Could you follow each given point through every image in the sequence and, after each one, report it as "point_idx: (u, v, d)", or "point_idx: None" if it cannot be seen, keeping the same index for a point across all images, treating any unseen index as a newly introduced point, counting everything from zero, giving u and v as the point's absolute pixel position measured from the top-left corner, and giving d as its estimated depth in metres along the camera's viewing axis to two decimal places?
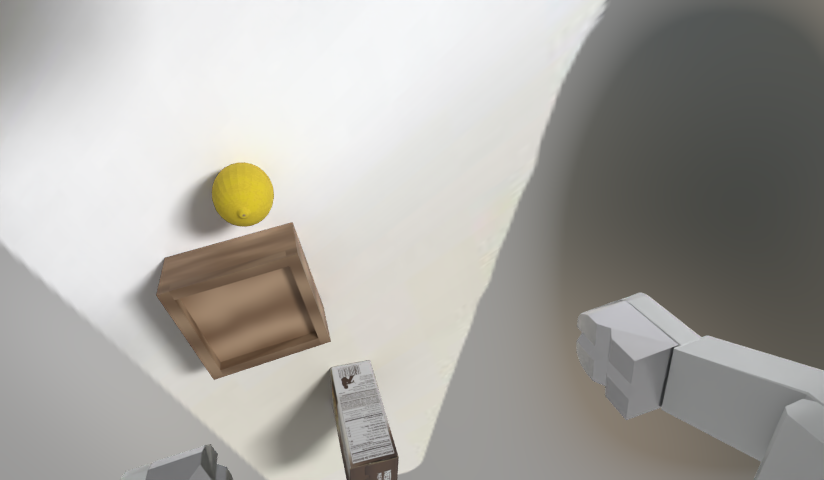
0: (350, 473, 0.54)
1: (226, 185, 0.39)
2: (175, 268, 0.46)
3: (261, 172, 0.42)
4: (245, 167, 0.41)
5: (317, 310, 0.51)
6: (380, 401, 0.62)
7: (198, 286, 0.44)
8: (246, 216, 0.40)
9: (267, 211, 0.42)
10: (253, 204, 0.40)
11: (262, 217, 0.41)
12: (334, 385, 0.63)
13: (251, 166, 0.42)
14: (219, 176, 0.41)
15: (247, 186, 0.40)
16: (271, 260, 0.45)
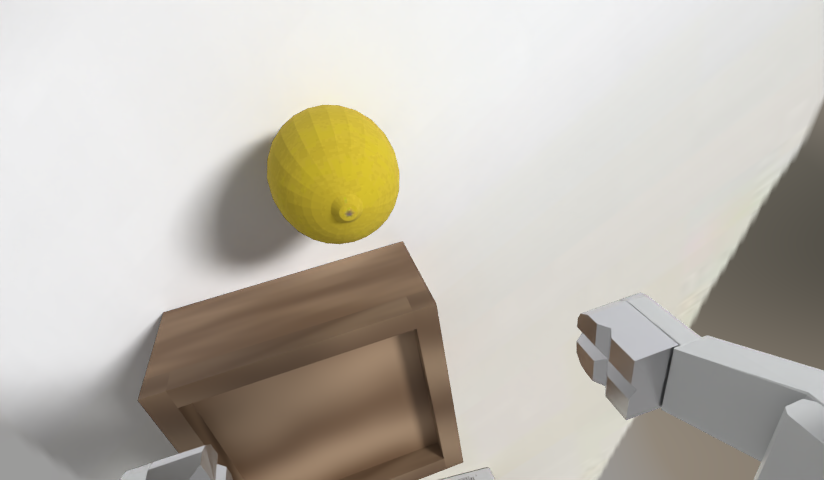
0: None
1: (307, 142, 0.16)
2: (182, 334, 0.23)
3: (375, 124, 0.19)
4: (343, 108, 0.18)
5: (451, 410, 0.26)
6: None
7: (229, 377, 0.20)
8: (355, 215, 0.16)
9: (391, 208, 0.18)
10: (370, 188, 0.16)
11: (381, 222, 0.18)
12: None
13: (355, 111, 0.19)
14: (287, 128, 0.18)
15: (357, 144, 0.16)
16: (381, 316, 0.21)
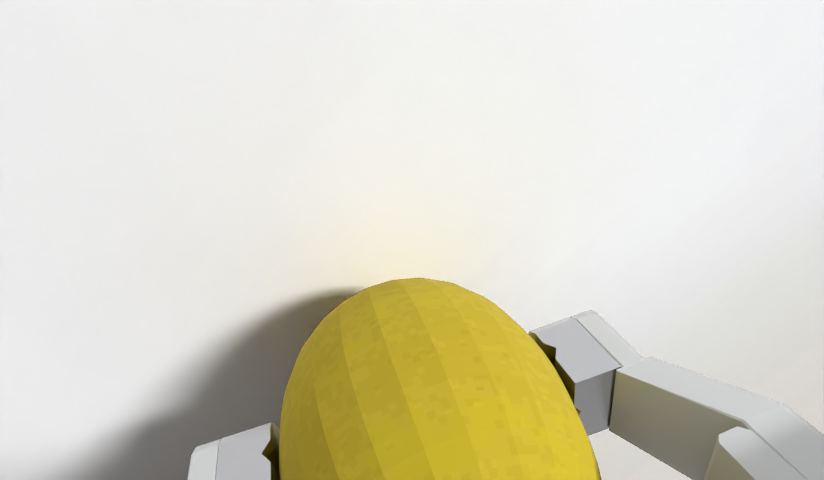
0: None
1: None
2: None
3: (523, 332, 0.08)
4: (463, 317, 0.08)
5: None
6: None
7: None
8: None
9: None
10: None
11: None
12: None
13: (483, 309, 0.08)
14: (331, 384, 0.07)
15: (540, 477, 0.06)
16: None
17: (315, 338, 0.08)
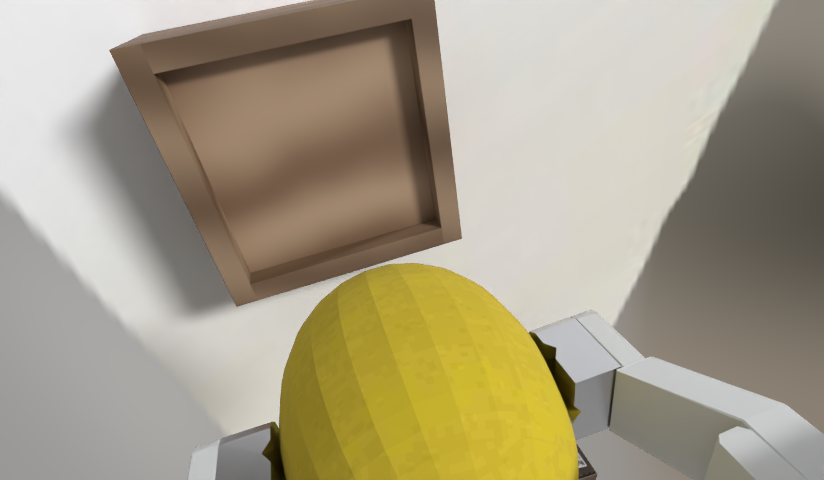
0: None
1: (389, 434, 0.06)
2: (161, 33, 0.21)
3: (508, 311, 0.09)
4: (451, 294, 0.08)
5: (449, 156, 0.25)
6: None
7: (210, 41, 0.19)
8: None
9: None
10: None
11: None
12: None
13: (470, 288, 0.09)
14: (329, 352, 0.08)
15: (516, 432, 0.06)
16: None
17: (314, 315, 0.09)
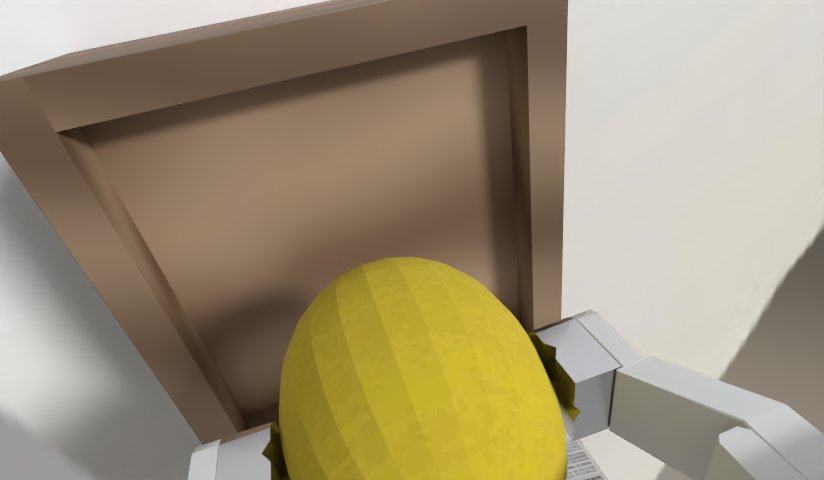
0: None
1: (384, 415, 0.07)
2: (89, 53, 0.12)
3: (500, 303, 0.09)
4: (445, 285, 0.08)
5: (558, 241, 0.16)
6: None
7: (163, 69, 0.10)
8: None
9: None
10: None
11: None
12: None
13: (464, 281, 0.09)
14: (327, 340, 0.08)
15: (506, 414, 0.07)
16: None
17: (313, 306, 0.09)
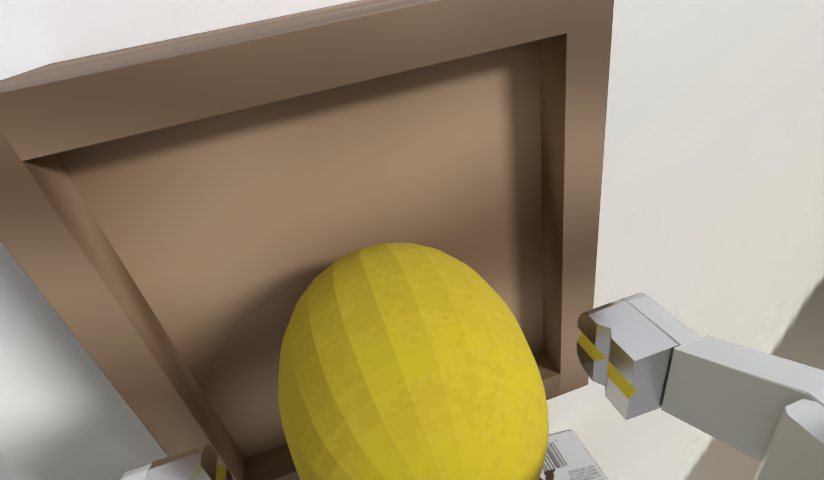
0: None
1: (376, 384, 0.07)
2: (68, 65, 0.11)
3: (489, 286, 0.10)
4: (436, 268, 0.09)
5: (591, 269, 0.14)
6: None
7: (148, 87, 0.08)
8: None
9: None
10: None
11: None
12: None
13: (454, 264, 0.10)
14: (324, 317, 0.08)
15: (490, 384, 0.07)
16: None
17: (311, 287, 0.10)
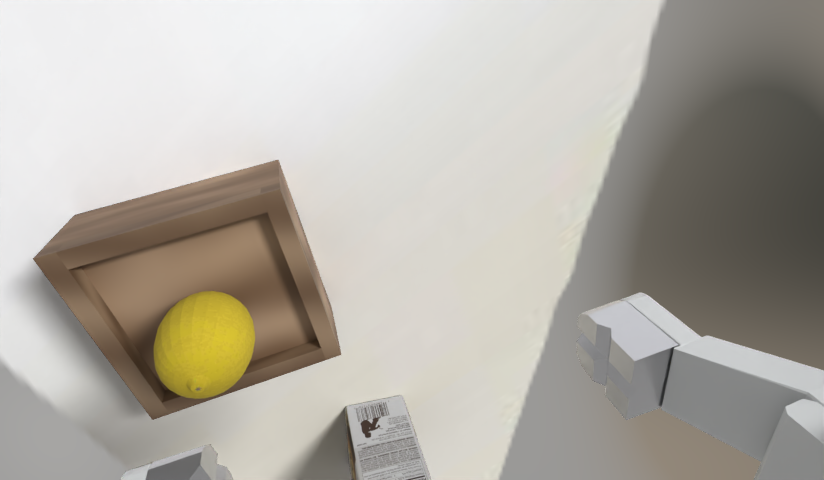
0: None
1: (172, 338, 0.24)
2: (82, 224, 0.28)
3: (235, 307, 0.27)
4: (208, 302, 0.26)
5: (317, 298, 0.31)
6: (420, 457, 0.40)
7: (109, 244, 0.26)
8: (203, 389, 0.24)
9: (241, 372, 0.26)
10: (215, 368, 0.24)
11: (232, 383, 0.26)
12: (350, 433, 0.42)
13: (220, 300, 0.27)
14: (166, 320, 0.25)
15: (207, 338, 0.24)
16: (235, 200, 0.27)
17: (170, 309, 0.27)
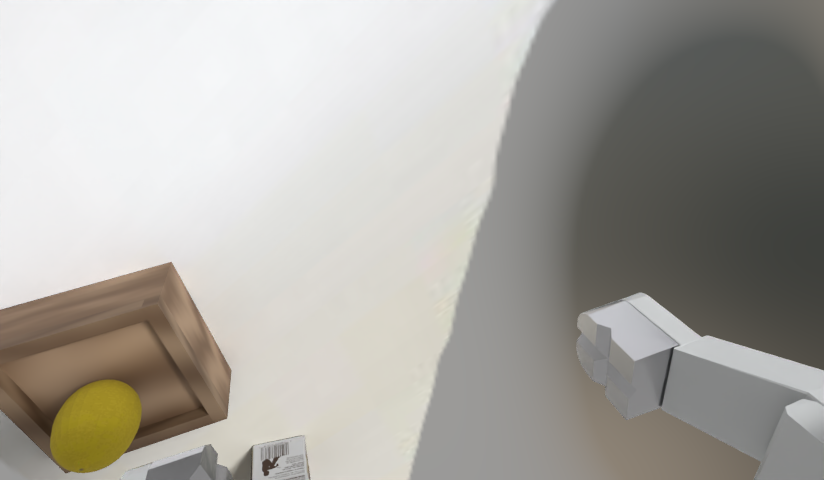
0: None
1: (62, 429, 0.31)
2: (0, 324, 0.35)
3: (120, 397, 0.34)
4: (97, 395, 0.33)
5: (200, 378, 0.38)
6: None
7: (16, 350, 0.32)
8: (85, 469, 0.31)
9: (122, 450, 0.33)
10: (96, 453, 0.31)
11: (115, 459, 0.33)
12: (252, 471, 0.50)
13: (108, 392, 0.33)
14: (61, 410, 0.32)
15: (90, 429, 0.31)
16: (120, 312, 0.34)
17: (68, 398, 0.34)
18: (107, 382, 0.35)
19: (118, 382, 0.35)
